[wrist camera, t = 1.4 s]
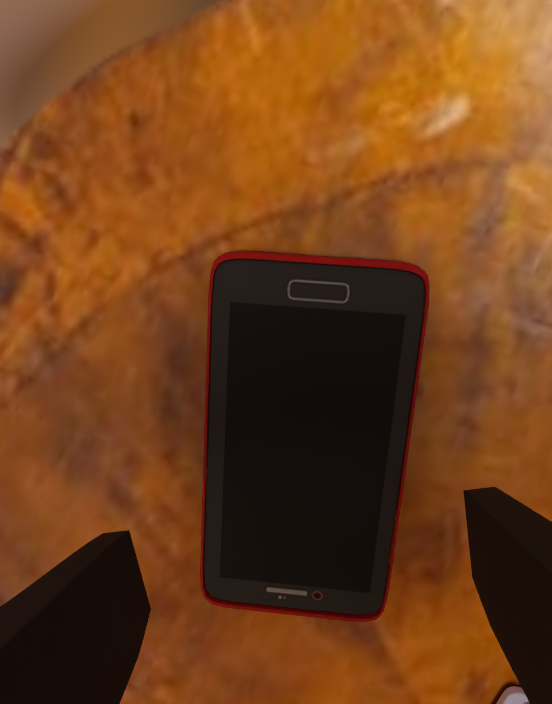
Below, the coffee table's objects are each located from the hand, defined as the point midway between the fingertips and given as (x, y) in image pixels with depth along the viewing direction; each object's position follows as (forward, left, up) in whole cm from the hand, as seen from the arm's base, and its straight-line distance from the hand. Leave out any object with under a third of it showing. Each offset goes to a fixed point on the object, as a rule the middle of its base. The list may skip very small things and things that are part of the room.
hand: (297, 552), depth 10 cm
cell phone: (-1, +1, -9) cm, 9 cm away
